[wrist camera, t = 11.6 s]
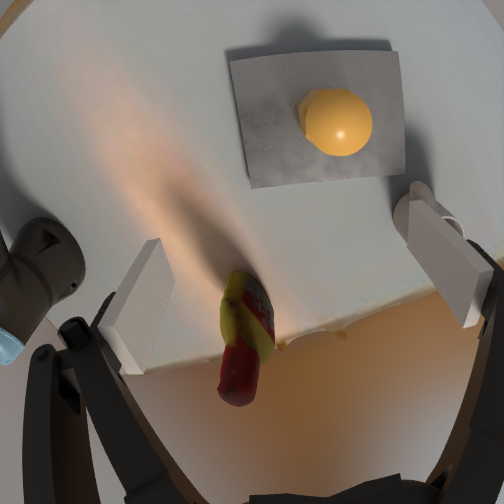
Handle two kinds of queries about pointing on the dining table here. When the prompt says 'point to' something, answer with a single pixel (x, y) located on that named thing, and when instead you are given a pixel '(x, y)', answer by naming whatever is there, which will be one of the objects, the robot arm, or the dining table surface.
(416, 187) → the cup
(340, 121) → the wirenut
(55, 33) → the dining table surface
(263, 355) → the bottle
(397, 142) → the plate
